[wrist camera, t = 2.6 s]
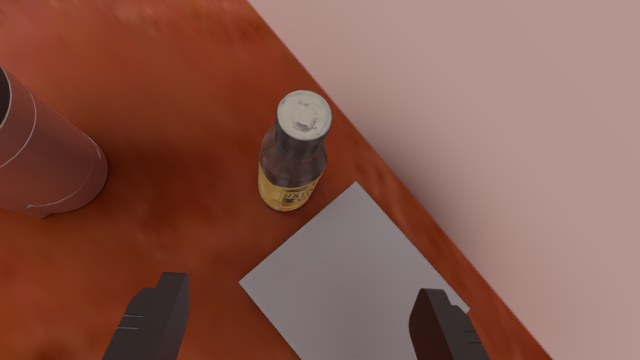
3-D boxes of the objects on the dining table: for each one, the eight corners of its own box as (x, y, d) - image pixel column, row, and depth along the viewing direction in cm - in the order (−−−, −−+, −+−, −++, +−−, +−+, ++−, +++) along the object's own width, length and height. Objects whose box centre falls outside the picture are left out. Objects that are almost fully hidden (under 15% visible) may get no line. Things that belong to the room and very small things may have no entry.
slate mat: (358, 429, 40) (360, 432, 39) (238, 282, 42) (238, 282, 41) (466, 308, 45) (470, 309, 44) (354, 182, 47) (356, 181, 46)
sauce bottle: (283, 224, 44) (297, 181, 25) (247, 186, 45) (234, 116, 26) (322, 188, 46) (363, 121, 27) (287, 151, 46) (303, 62, 27)
